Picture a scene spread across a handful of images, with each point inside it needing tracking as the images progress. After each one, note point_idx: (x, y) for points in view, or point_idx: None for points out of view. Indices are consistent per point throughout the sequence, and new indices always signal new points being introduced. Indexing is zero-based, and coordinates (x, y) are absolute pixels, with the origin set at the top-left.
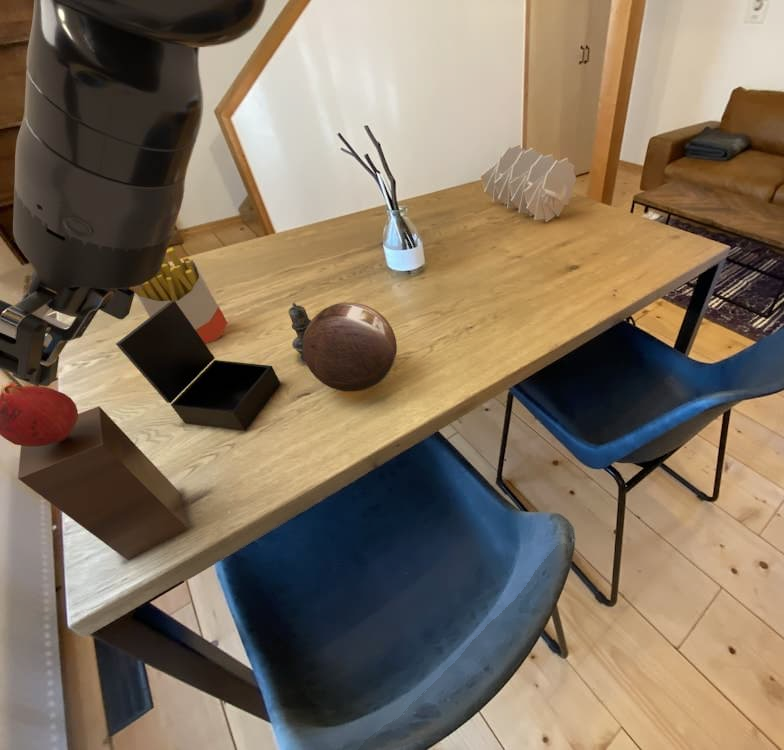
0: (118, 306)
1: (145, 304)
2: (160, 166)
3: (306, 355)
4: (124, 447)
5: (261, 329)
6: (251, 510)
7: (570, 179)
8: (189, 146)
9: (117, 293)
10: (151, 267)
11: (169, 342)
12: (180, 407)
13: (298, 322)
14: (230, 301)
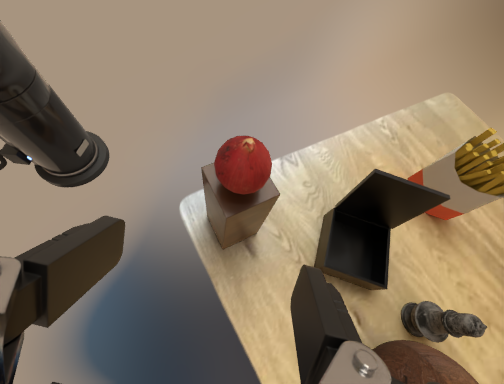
0: (298, 320)
1: (446, 158)
2: None
3: (394, 358)
4: (251, 217)
5: (445, 250)
6: (229, 296)
7: None
8: None
9: (308, 353)
10: None
11: (394, 201)
12: (331, 215)
13: (454, 325)
14: (478, 208)
